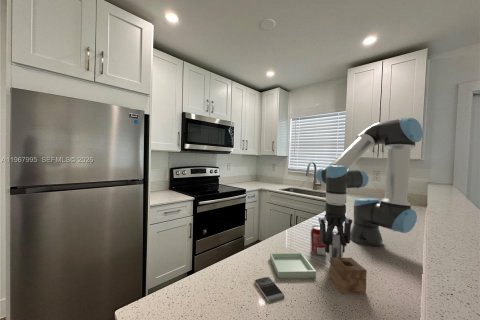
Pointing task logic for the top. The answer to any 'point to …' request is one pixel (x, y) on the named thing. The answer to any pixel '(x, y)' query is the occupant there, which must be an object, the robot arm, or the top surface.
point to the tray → (292, 265)
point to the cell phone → (269, 289)
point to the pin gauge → (335, 245)
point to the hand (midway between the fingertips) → (334, 259)
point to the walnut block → (348, 276)
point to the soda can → (317, 241)
